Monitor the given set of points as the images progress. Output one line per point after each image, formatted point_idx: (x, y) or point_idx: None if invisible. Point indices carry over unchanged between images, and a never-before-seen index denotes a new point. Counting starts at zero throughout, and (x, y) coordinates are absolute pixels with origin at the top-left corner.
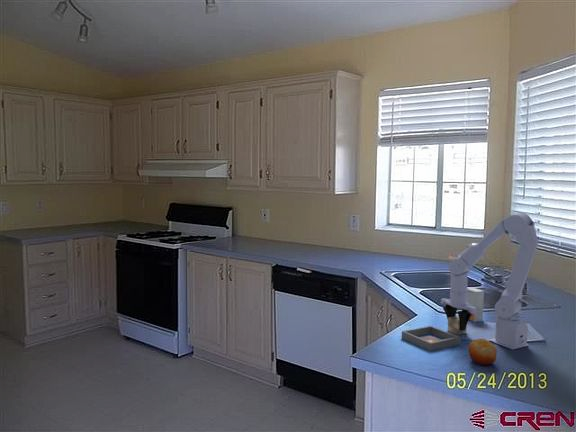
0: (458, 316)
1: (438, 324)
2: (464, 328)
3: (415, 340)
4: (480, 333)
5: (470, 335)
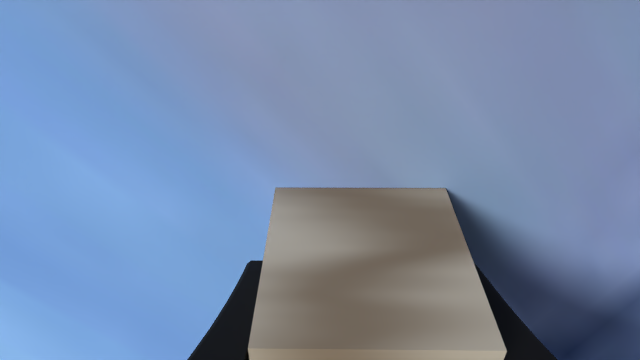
0: (286, 348)
1: (30, 234)
2: None
3: None
4: (605, 31)
5: (539, 216)
